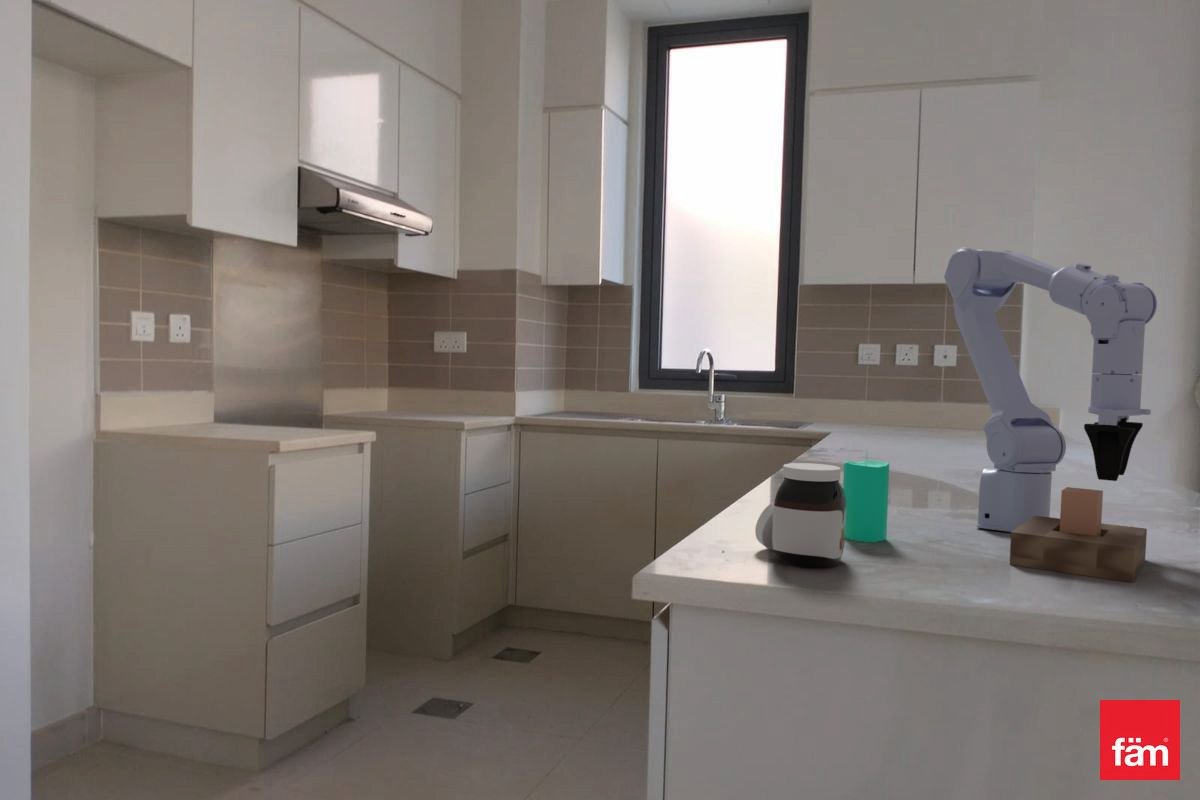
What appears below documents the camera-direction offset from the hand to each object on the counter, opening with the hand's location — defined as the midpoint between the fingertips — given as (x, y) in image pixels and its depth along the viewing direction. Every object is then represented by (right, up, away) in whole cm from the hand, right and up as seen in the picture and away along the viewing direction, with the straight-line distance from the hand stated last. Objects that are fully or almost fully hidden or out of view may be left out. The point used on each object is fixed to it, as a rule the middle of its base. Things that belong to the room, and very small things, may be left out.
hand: (1111, 477), depth 117 cm
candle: (-31, -9, +6) cm, 33 cm away
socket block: (-8, -10, -6) cm, 14 cm away
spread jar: (-43, -10, -7) cm, 45 cm away
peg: (-8, -9, -6) cm, 14 cm away
